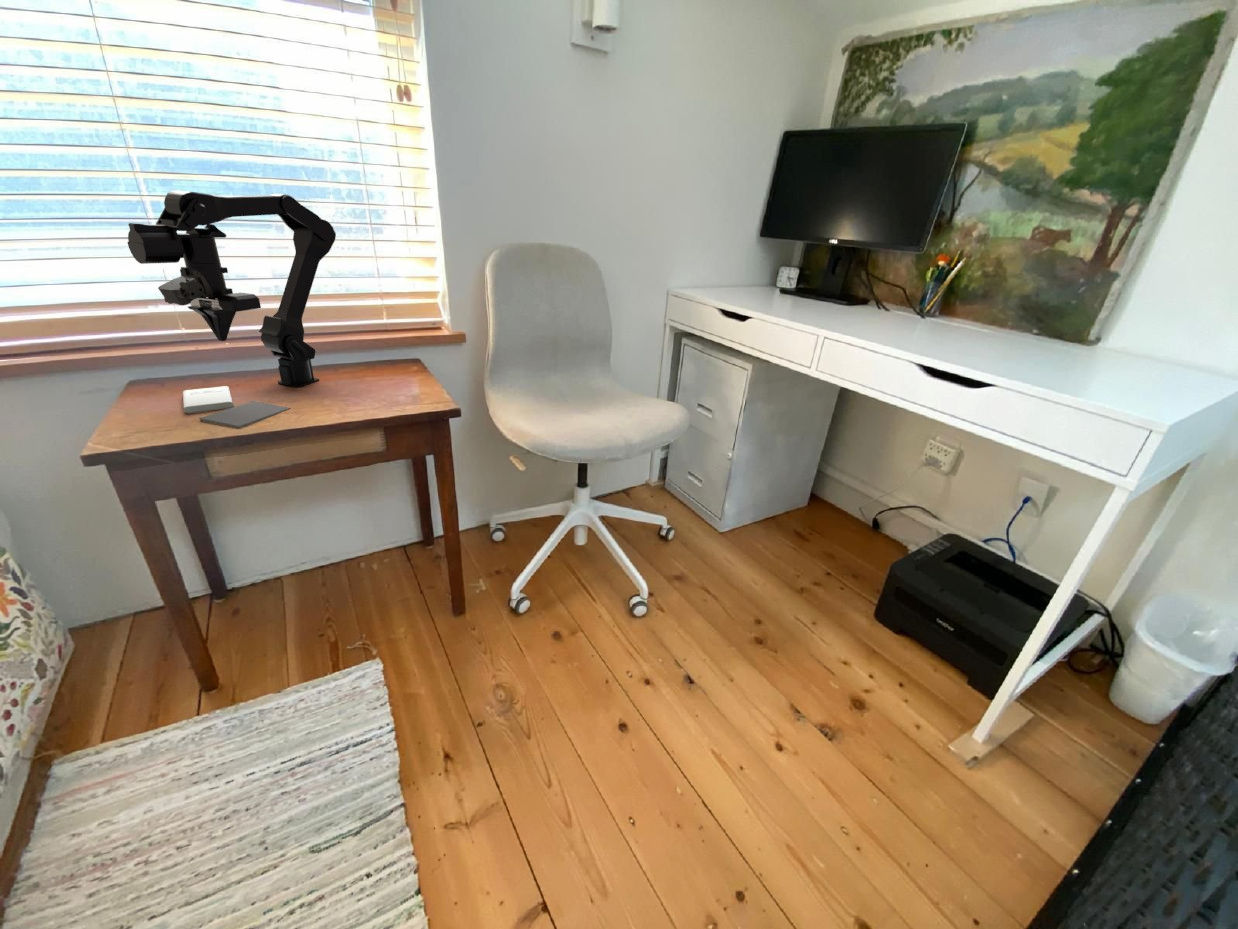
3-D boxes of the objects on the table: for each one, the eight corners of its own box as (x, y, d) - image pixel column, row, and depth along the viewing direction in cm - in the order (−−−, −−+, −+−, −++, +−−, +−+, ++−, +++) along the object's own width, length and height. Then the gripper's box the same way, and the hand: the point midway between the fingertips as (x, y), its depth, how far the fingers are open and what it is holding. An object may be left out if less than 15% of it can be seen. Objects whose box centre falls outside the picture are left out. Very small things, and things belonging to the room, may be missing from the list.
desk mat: (253, 403, 116) (252, 400, 115) (290, 410, 113) (290, 407, 113) (200, 420, 105) (199, 418, 105) (240, 428, 103) (239, 426, 102)
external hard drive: (185, 414, 108) (184, 396, 116) (234, 408, 112) (229, 392, 121) (183, 406, 107) (182, 389, 116) (232, 401, 112) (228, 385, 120)
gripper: (123, 259, 100) (148, 342, 107) (199, 268, 96) (221, 354, 102) (182, 257, 110) (202, 332, 116) (254, 265, 106) (270, 343, 112)
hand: (222, 340), depth 112 cm, fingers closed
